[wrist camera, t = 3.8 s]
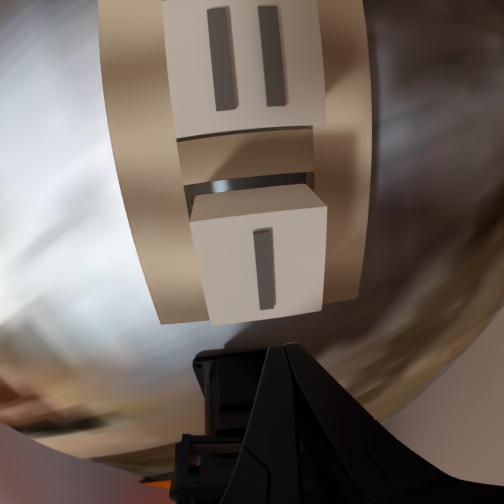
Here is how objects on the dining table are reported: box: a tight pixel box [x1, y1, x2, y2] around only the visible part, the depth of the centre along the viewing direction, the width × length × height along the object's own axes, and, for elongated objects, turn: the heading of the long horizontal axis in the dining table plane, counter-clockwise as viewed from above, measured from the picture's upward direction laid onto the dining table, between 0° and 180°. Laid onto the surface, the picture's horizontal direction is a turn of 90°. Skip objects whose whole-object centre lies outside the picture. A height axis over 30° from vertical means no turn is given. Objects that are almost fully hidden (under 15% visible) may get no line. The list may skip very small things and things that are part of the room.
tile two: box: [162, 0, 327, 138], centre depth 9 cm, size 5×5×3 cm
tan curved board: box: [98, 0, 372, 325], centre depth 11 cm, size 26×12×2 cm, turn 5°
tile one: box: [189, 184, 327, 326], centre depth 13 cm, size 5×5×3 cm
